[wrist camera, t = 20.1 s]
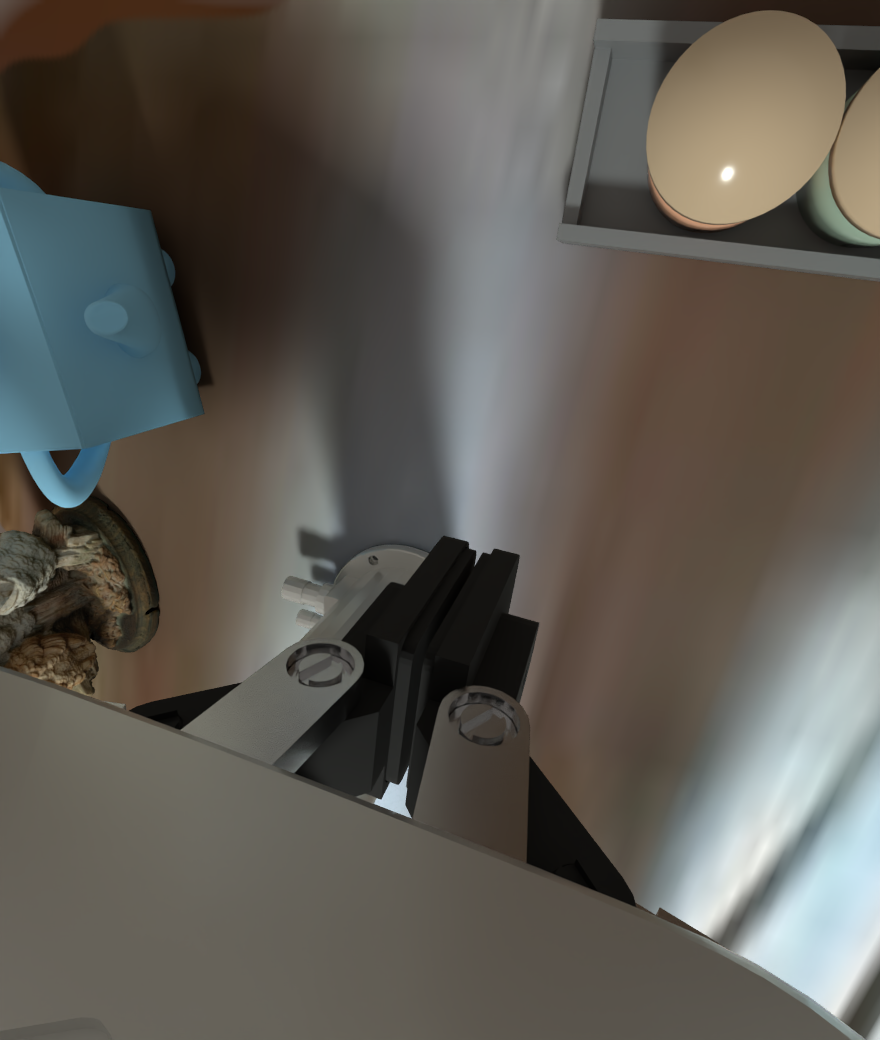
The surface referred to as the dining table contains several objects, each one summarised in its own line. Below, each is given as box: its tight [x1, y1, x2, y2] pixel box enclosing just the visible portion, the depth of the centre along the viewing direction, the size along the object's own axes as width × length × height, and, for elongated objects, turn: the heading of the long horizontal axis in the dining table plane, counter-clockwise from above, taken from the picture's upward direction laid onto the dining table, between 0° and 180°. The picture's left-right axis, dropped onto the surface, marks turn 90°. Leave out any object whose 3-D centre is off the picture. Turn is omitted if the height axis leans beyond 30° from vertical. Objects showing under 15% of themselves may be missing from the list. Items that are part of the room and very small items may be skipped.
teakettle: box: [0, 162, 204, 508], centre depth 38 cm, size 19×19×15 cm
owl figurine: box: [0, 496, 160, 696], centre depth 49 cm, size 18×12×17 cm, turn 8°
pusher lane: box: [556, 19, 880, 282], centre depth 27 cm, size 22×9×4 cm, turn 83°
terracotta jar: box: [646, 10, 846, 233], centre depth 26 cm, size 7×7×7 cm
